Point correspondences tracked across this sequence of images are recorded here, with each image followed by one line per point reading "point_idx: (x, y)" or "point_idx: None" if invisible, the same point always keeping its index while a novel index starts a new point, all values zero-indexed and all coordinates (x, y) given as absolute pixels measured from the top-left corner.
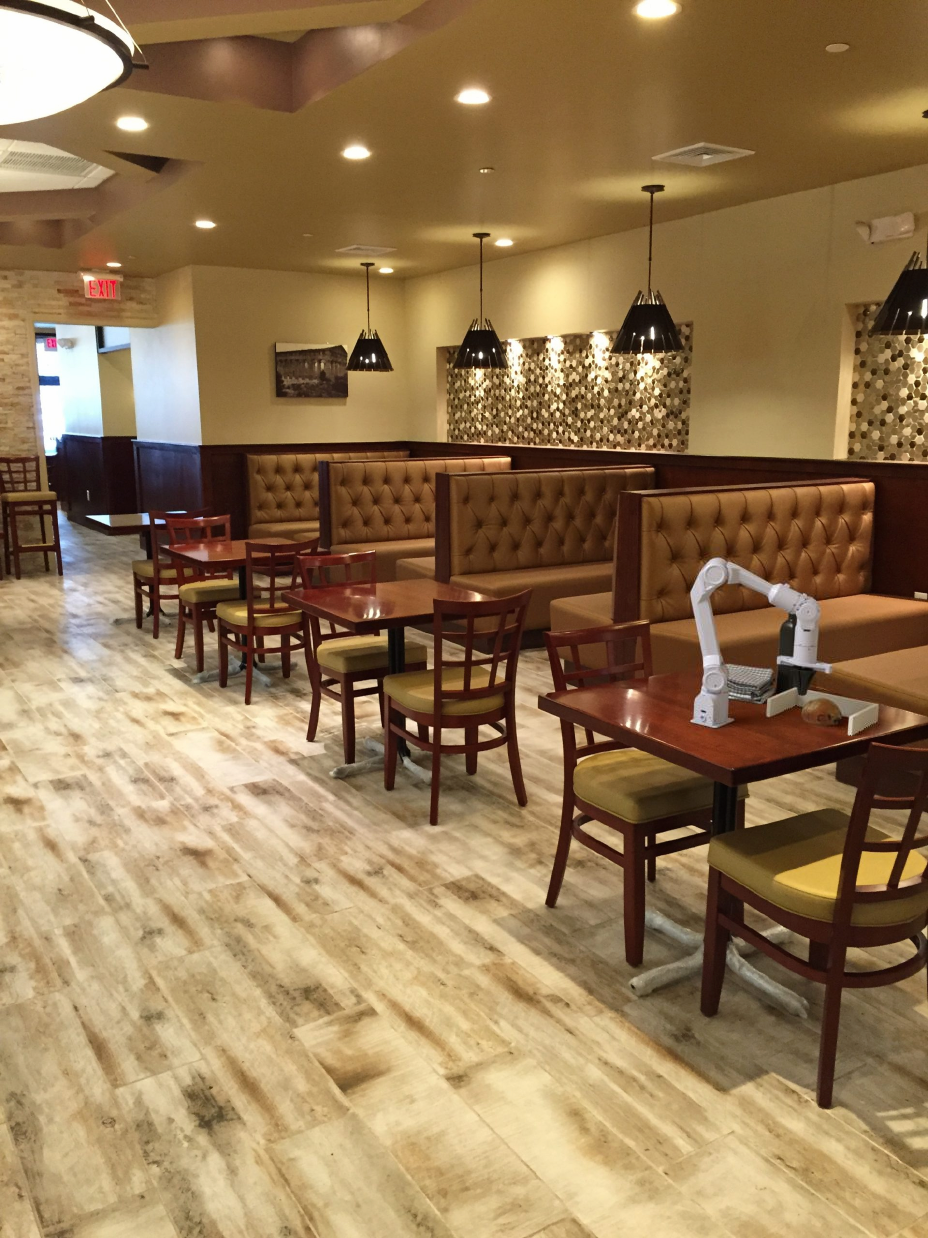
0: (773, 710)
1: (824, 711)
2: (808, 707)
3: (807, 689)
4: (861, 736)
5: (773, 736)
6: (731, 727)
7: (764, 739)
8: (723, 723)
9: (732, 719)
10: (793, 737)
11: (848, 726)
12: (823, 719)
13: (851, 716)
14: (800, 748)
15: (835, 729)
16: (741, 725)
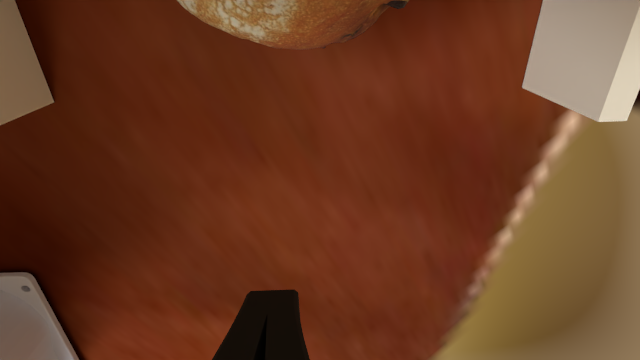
0: (13, 66)
1: (358, 12)
2: (214, 7)
3: (302, 334)
4: None
5: None
6: (98, 326)
7: None
8: (60, 339)
9: (28, 285)
10: (331, 276)
11: (551, 99)
12: (359, 34)
13: (615, 109)
14: (405, 344)
15: (436, 38)
16: (97, 289)
